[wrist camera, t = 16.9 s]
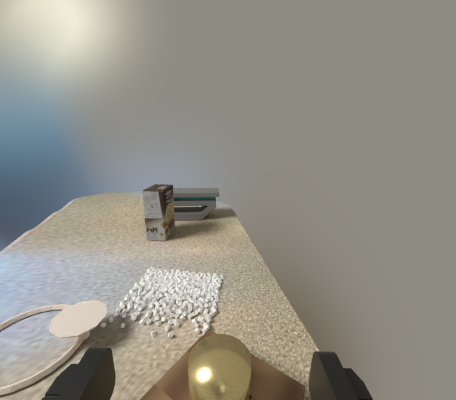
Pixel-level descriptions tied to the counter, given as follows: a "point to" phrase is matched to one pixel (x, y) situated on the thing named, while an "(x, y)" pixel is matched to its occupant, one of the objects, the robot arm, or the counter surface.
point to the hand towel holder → (61, 332)
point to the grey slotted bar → (194, 203)
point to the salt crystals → (173, 297)
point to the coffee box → (159, 212)
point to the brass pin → (219, 369)
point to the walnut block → (259, 383)
